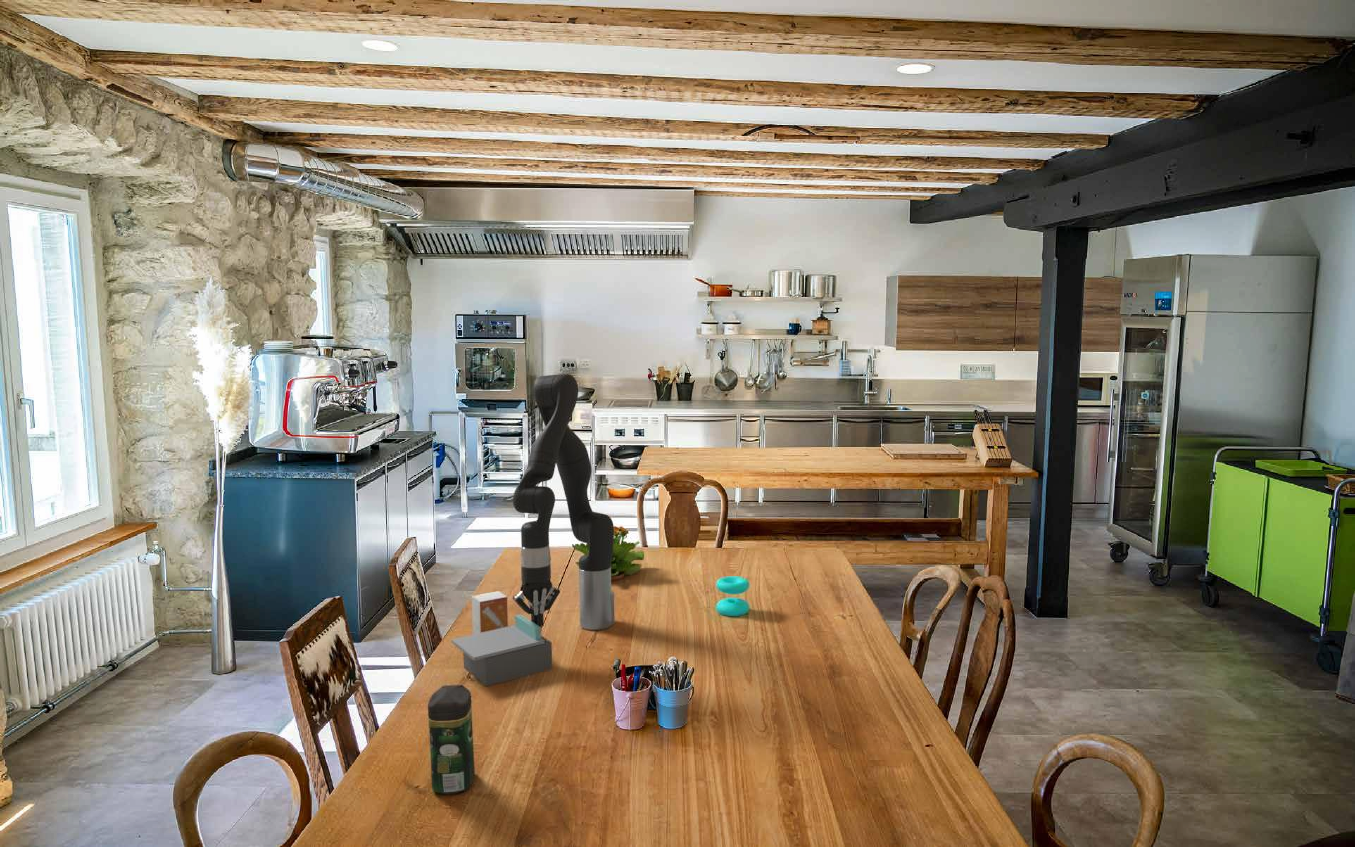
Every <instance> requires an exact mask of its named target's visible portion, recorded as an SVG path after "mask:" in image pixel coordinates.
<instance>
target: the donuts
mask: <svg viewBox="0 0 1355 847" xmlns="http://www.w3.org/2000/svg"><path fill="white" fill-rule="evenodd" d="M715 585H716V586H715V587H716V588H717V590H718V591H719V592H721V593H722V594H723V593H724V594H727V595H740V594H744V593H746V592H747V591H748V590H749V588H750V582H749V580H748V579H747V578H744V577H742V576H736V575H732V576H731V575H730V576H722V577H720V578H718V580H717V581H716V584H715ZM716 611H717V612H718V613H719V614H721V615H724V616H727V617H740V616H744V615H747V613H748V612H749V611H750V604H749V602H748V601H746V600H745V599H743V598H740V597H726V598H723V599H721V600H719V601H718V602H717V604H716Z"/></svg>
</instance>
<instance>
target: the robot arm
mask: <svg viewBox="0 0 1355 847" xmlns="http://www.w3.org/2000/svg"><path fill="white" fill-rule="evenodd" d="M533 396H534V400H535V404H536V406H537V409H538V412H539V414H540V417H541V419H542V422H543V424H544V426H545V427H544V428H543V430H542V431H541V432H540V433H539V434H538V436H537V437H536V439H535V440H534V442H533V444H532V446H531V450H530V454H529V457H528V458H529V459H528V462H527V463H528V464H527V465H526V466H527V467H526V469H525V471H524V473H523V475H522V478H521V479H520V481H519V483H518V484H517V486H516V488H515V490H514V492H513V495H512V504H513V508H514V510H515V511H517V512H519V513H521V514H534V515H538V516H537V519H536V520H533V521H527V522H524V523H523V524H522V526H521V527H520V528H521V529H520V539H521V542H520V543H521V549H520V568H521V569H520V570H521V571H520V574H521V587H520V591H519V592H518V594H516V595H513V596H512V600H513V601H514V602H515V603H516V604H517V606H519V607H520V608H521V610H523V612H525V613H527V614H528V615H530V621H532V622H533V623H535V624H536V625H538V626H539V627H541V629H542V628H543V625H544V623H545V622H544V619H545V618H544V613H545V612H546V611H550V610H551V608H552V606H553V605H554V603H555V601H556V600H557V598H558V596H559V594H560V593H561V590H560V589H559V588H557V587H554V586H553V583H552V581H551V579H552V574H551V573H552V568H551V565H552V564H551V562H552V561H551V559H552V557H551V550H550V525H551V519H552V514H553V511H554V508H555V503H556V497H555V496H556V494H555V492H554V491H553V489H551V487H549V486H541V485H540V486H539V485H538V484H540V483H543V482H544V483H545V482H548V481H550V480H552V479H553V477H554V474H555V469H556V468H557V472H558V474H559V477H560V480H561V483H562V489H563V491H564V496H565V499H566V504H567V509H568V516H569V520H570V527H571V531H572V534H573V537H574V538H575V539H576V540H577V541H578V542H581V543H583V544H589V554H586V555H584V554H583V555H581V556H580V557H579V559H578V562H579V566H578V590H579V591H578V592H579V593H578V594H579V600H578V601H579V627H581V628H582V629H585V630H592V631H595V630H596V631H598V630H599V631H600V630H604V629H607V628H610V627H611V626H612V625H615V624H616V623H615V620H616V619H615V592H614V591H612V580H611V560H612V557H613V546H614V537H615V536H614V526H615V525H614V521H613V520H612V518H611V517H610V516H609V515H608V514H604V513H601V512H596V511H594V510H592V507H591V504H590V500H589V495H588V488H589V485H590V481H591V477H592V471H593V468H592V464H591V460H590V456H589V453H588V452H589V451H588V449H587V446H586V444H585V443H584V442H583V441H582V439H581V438H580V437H579V436H578V435H577V434H576V433H575V432H574V431H573V430H572V429H571V428H570V427H569V423H570V421H571V417H572V415H573V413H574V410H575V408H576V405H577V402H578V397H579V384H578V381H577V380H576V377H574V375H572V374H571V373H570V374H568V373H559V374H551V375H550V374H549V375H542V376H537V378H535V380H534V384H533ZM525 599H527V602H528V604H526V602H525Z"/></svg>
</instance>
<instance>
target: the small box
mask: <svg viewBox="0 0 1355 847" xmlns="http://www.w3.org/2000/svg"><path fill="white" fill-rule="evenodd" d="M471 610H472V611H471V613H472V614H471V620H472V621H471V622H472V635H473V634H478V633H482V632H486V631H491V630H495V629H500V628H504V627H508V626H509V620H508V619H509V618H508V617H509V616H508V614H509V612H508V596H506V595H505V594H504V593H502V592H501V591H500V590H497V591H493V592H486V593H481V594H477V595H476V594H475V595H471Z"/></svg>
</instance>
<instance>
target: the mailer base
mask: <svg viewBox="0 0 1355 847" xmlns="http://www.w3.org/2000/svg"><path fill="white" fill-rule="evenodd" d="M541 638H542V639H543V640H545V643H544V644H540V645H536V646H532V647H528V648H524V649H520V650H516V651H512V652H507V653H503V654H499V655H495V656H491V657H487V658H483V659H479V660H475V661H474V660H472V659H471V658H470V657H469V656H467V655H466V654H465V653H464V652H462V654H463V655H462V656H463V669H465V671H467V672H468V673H469V674H471V675H472V676H473V677H474V678H475V679H477V680H478V681H479V682H480V683H481V684H483V685H484V686H485V687H489V686H492V685H496V684H500V683H504V682H507V681H511V680H515V679H519V678H522V677H526V676H530V675H534V674H537V673H542V672H544V671H549V670H552V669H553V649H552V648H553V647H552V646H553V644H552V642H551V640H549V639H547V638H545V637H544V636H543V635H541Z"/></svg>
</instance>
